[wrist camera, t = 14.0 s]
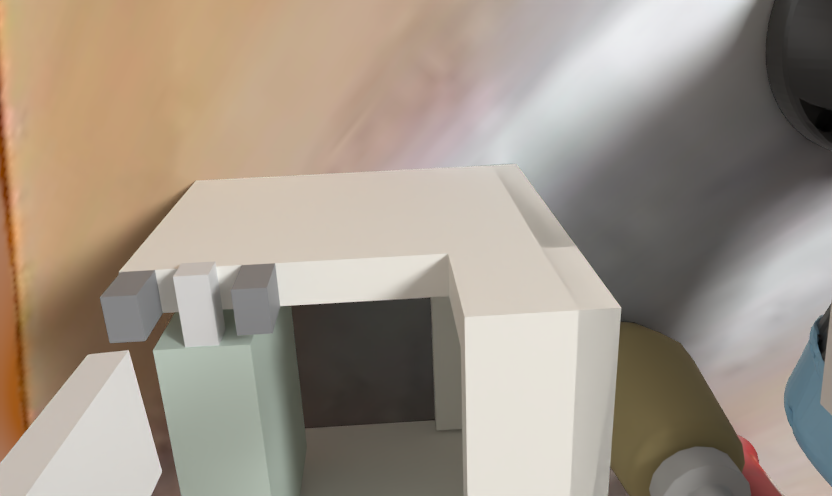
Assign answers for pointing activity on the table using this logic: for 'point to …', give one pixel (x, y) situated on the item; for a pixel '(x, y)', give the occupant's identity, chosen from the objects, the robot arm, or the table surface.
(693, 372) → the squeeze bottle
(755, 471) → the liquor
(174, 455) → the door
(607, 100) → the table surface
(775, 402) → the table surface
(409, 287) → the cabinet
